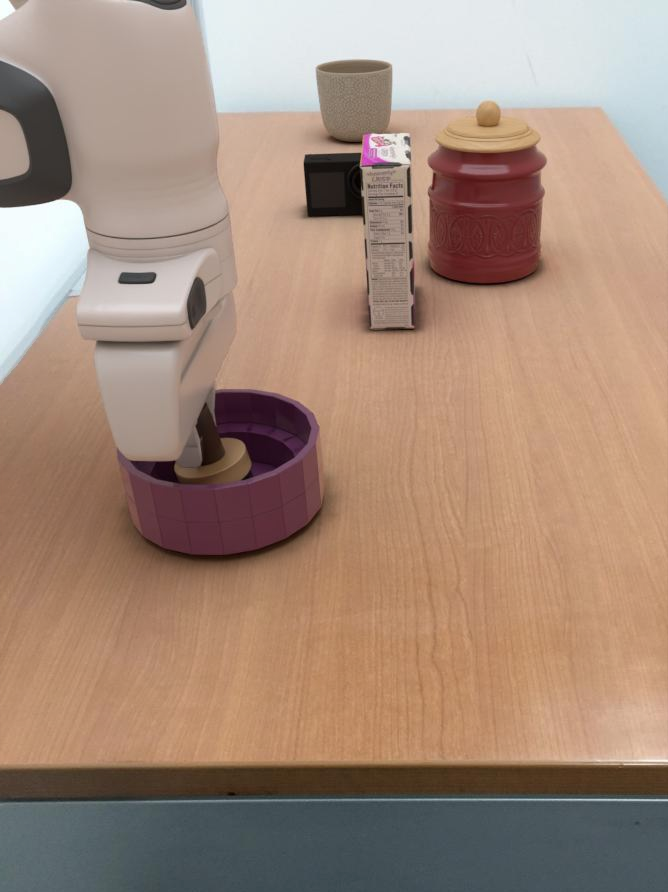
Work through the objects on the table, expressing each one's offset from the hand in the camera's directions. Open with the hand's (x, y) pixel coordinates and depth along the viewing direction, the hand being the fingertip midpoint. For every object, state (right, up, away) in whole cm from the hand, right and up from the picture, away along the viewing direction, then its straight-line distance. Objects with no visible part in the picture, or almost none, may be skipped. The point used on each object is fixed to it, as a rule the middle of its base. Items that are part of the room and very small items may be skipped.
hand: (197, 449), depth 69 cm
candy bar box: (+14, +18, +32) cm, 39 cm away
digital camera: (+7, +37, +59) cm, 70 cm away
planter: (+7, +61, +91) cm, 110 cm away
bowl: (+2, -4, +3) cm, 5 cm away
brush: (+1, -3, +2) cm, 4 cm away
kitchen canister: (+24, +25, +42) cm, 55 cm away
